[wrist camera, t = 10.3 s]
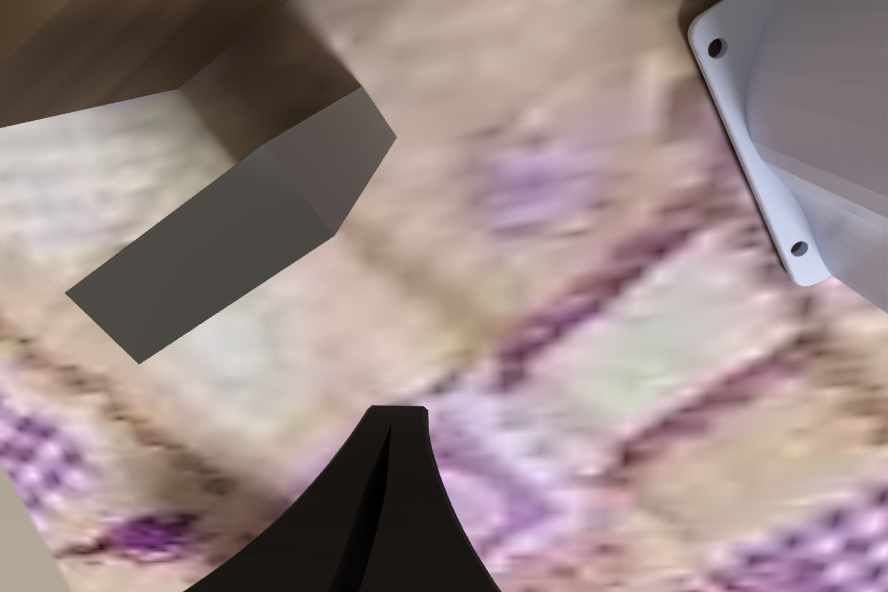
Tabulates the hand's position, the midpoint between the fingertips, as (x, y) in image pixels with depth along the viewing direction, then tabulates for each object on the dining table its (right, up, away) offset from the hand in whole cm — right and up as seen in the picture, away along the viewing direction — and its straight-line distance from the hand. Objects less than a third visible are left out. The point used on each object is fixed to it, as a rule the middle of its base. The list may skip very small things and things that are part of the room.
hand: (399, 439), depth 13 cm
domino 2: (-3, +8, +5) cm, 10 cm away
